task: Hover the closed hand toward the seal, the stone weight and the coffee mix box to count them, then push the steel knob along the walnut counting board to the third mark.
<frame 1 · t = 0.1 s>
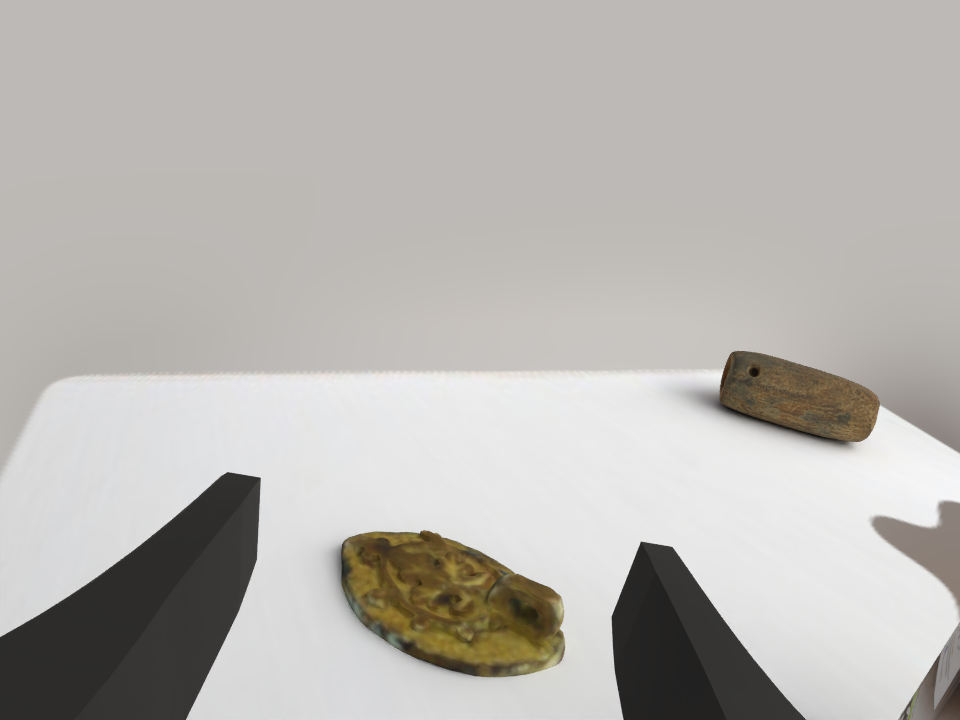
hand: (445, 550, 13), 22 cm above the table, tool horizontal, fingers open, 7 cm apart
seal: (444, 608, 42), on the table
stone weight: (784, 425, 74), on the table
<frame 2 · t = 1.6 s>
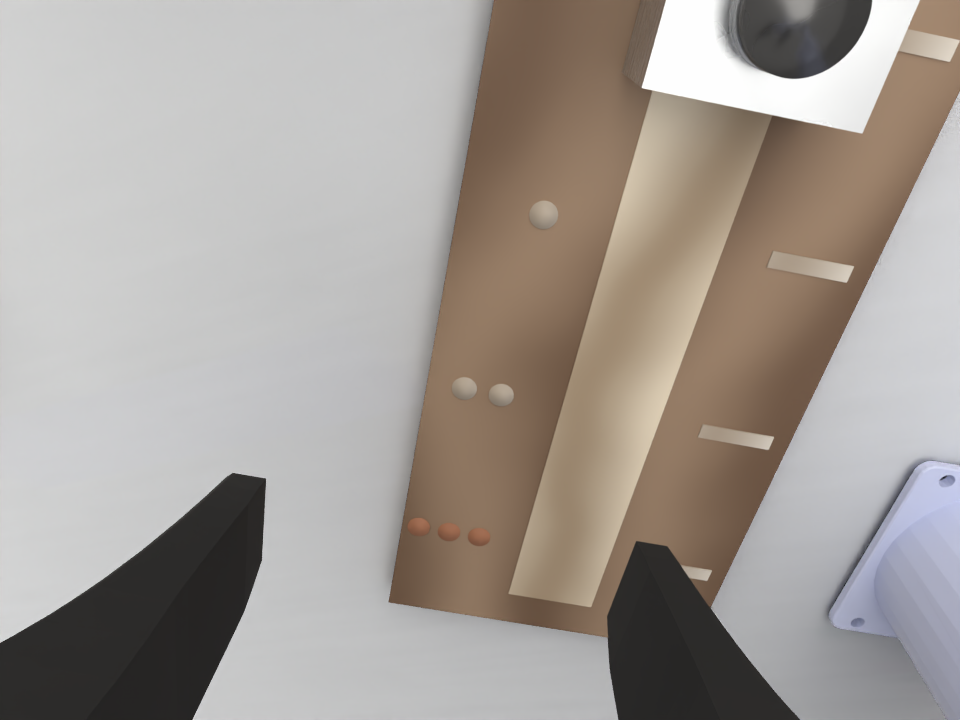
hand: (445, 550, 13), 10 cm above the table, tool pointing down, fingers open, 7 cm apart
counting board: (632, 318, 22), on the table
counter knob: (772, 8, 15), point 3 cm above the table, slide at -9.0 cm
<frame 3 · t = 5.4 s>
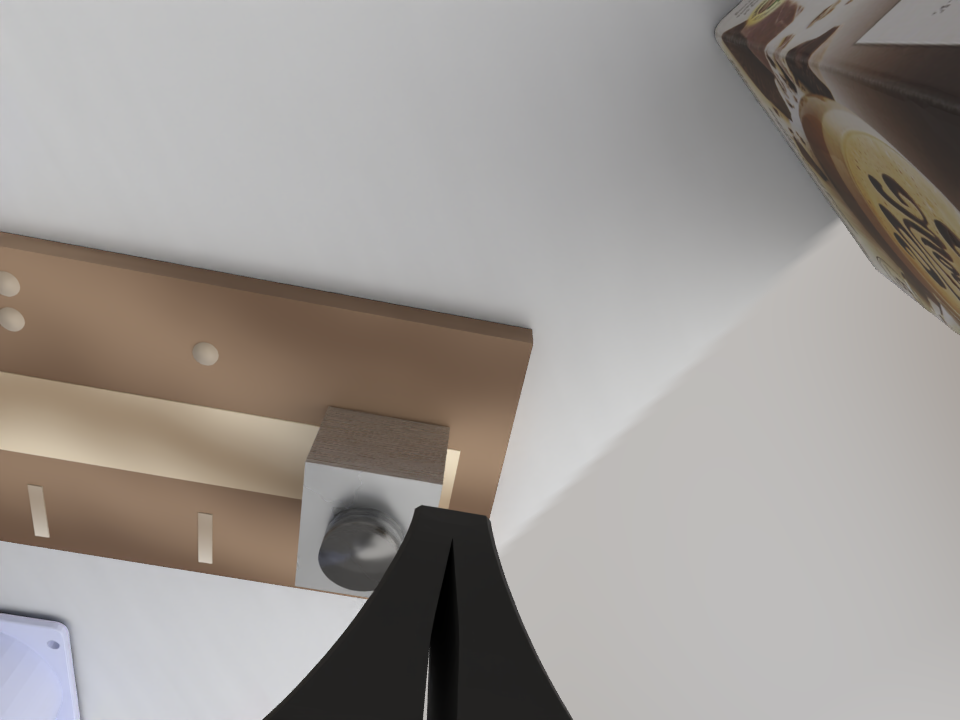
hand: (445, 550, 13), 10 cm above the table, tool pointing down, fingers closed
coffee box: (895, 83, 19), on the table
counting board: (130, 414, 25), on the table
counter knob: (370, 516, 22), point 3 cm above the table, slide at -9.0 cm
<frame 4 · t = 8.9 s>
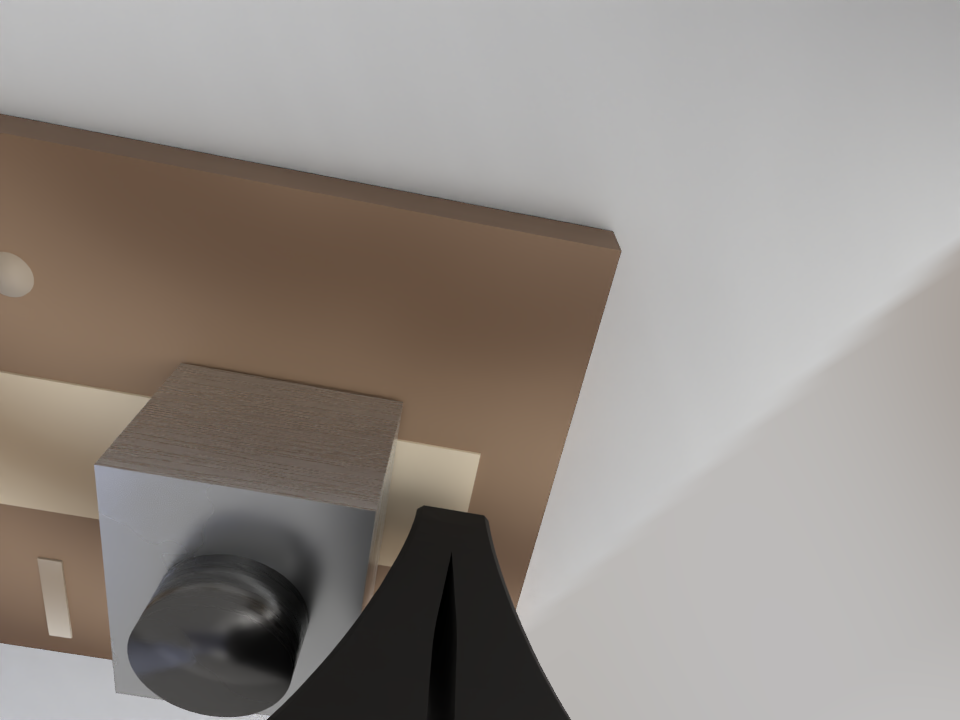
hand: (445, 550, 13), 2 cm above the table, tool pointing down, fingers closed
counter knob: (253, 564, 12), point 3 cm above the table, slide at -7.9 cm, touching gripper
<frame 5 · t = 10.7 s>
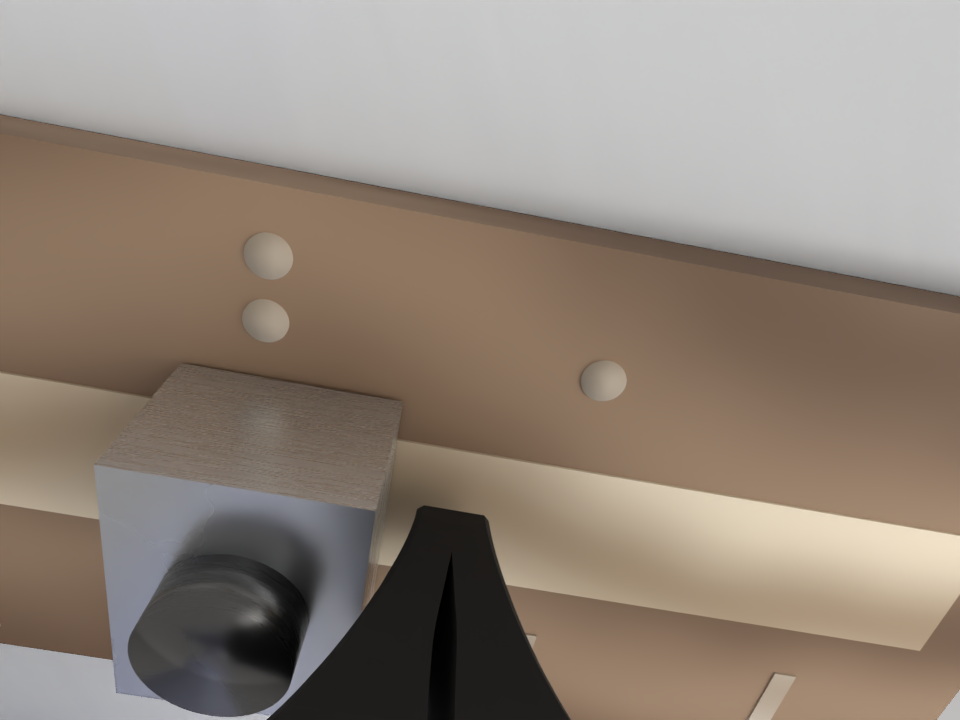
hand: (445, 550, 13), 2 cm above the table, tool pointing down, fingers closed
counting board: (415, 476, 15), on the table
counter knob: (253, 564, 12), point 3 cm above the table, slide at 2.5 cm, touching gripper
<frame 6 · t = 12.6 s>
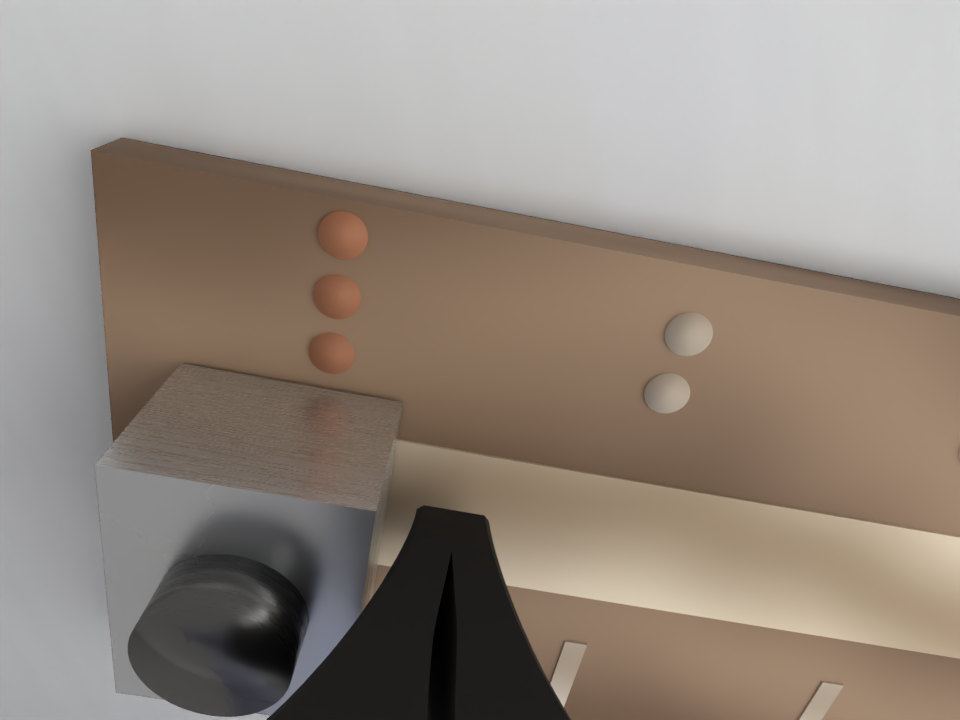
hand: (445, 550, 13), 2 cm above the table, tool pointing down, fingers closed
counting board: (740, 532, 15), on the table
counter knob: (253, 564, 12), point 3 cm above the table, slide at 9.6 cm, touching gripper
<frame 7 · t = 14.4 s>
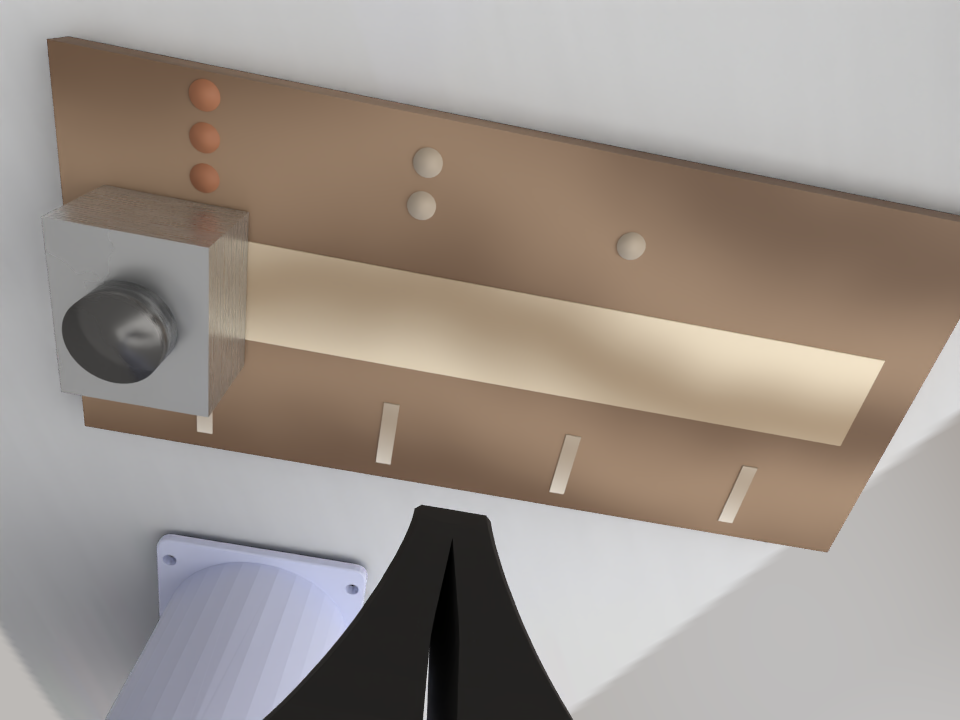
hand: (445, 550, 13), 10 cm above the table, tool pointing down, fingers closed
counting board: (502, 324, 22), on the table
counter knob: (148, 308, 19), point 3 cm above the table, slide at 9.7 cm
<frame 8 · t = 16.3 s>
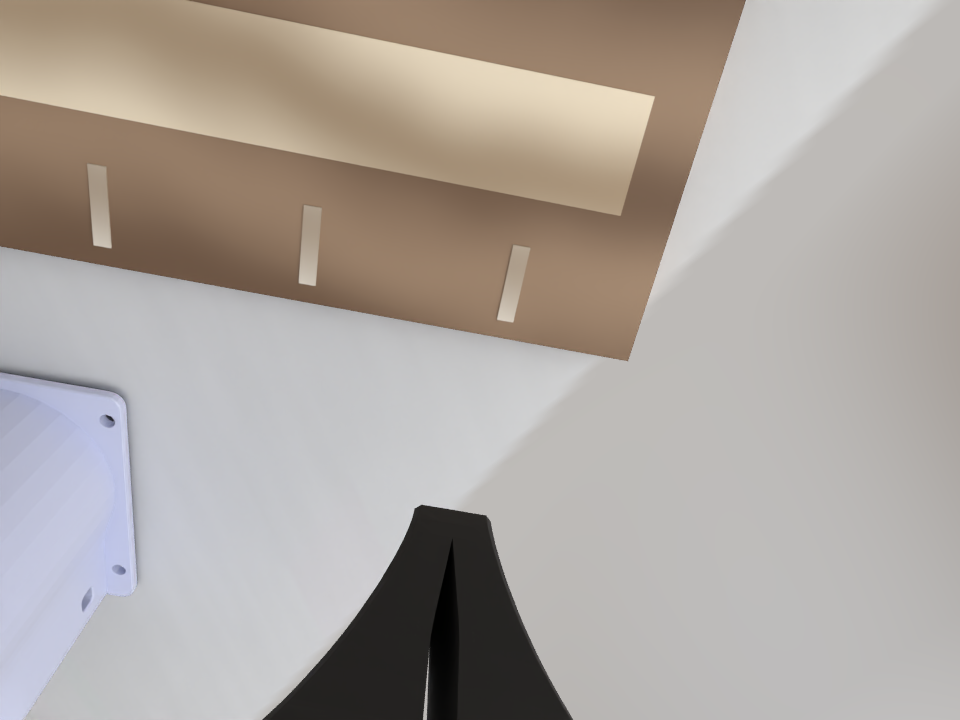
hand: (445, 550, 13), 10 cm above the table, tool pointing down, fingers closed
counting board: (220, 68, 19), on the table
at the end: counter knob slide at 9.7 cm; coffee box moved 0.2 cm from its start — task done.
